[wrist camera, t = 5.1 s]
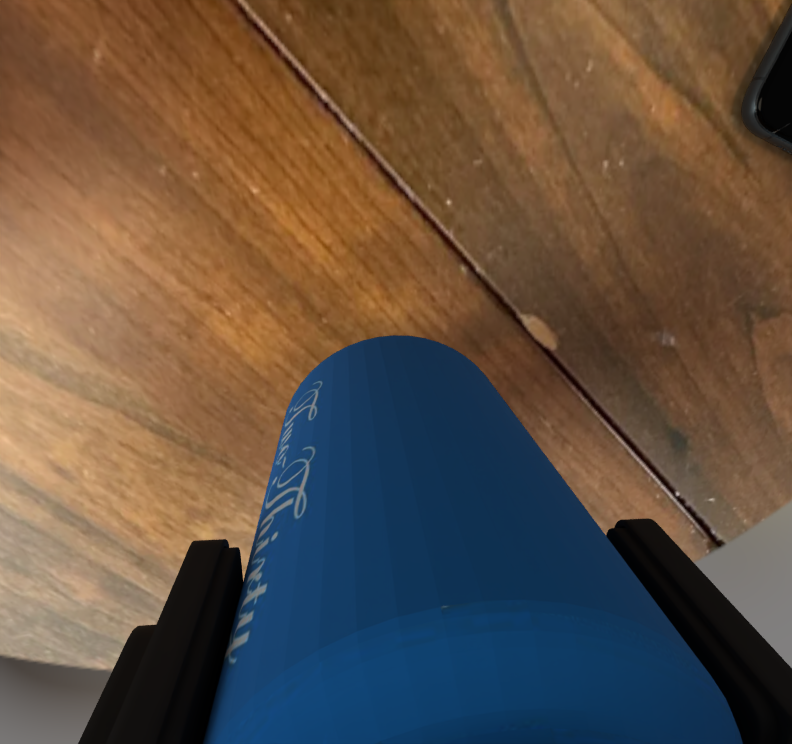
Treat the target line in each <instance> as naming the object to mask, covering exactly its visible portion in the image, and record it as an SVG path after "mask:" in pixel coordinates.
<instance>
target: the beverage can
mask: <svg viewBox="0 0 792 744" xmlns="http://www.w3.org/2000/svg"><path fill="white" fill-rule="evenodd" d="M203 744H743V742H742V739H741V735H740V732H739V729H738V727H737V724H736V722H735V719H734V717H733V714H732V712H731V709H730V707H729V705H728V703H727V700H726V698H725V697H724V695H723V694H722V692H721V691H720V689H719V687H718V686H717V684H716V683H715V681H714V680H713V678H712V677H711V675H710V674H709V673H708V671H707V670H706V669H705V667H704V666H703V665H702V663H701V662H700V661H699V659H698V658H697V657H696V655H695V654H694V653H693V651H692V650H691V649H690V647H689V646H688V645H687V643H686V642H685V641H684V639H683V638H682V637H681V635H680V634H679V633H678V631H677V630H676V629H675V627H674V626H673V625H672V623H671V622H670V621H669V619H668V618H667V617H666V615H665V614H664V613H663V611H662V610H661V609H660V607H659V606H658V605H657V603H656V602H655V601H654V599H653V598H652V597H651V595H650V594H649V593H648V591H647V590H646V589H645V587H644V586H643V585H642V583H641V582H640V581H639V579H638V578H637V577H636V575H635V574H634V573H633V571H632V570H631V569H630V567H629V566H628V565H627V563H626V562H625V561H624V559H623V558H622V557H621V555H620V554H619V553H618V551H617V550H616V549H615V547H614V546H613V545H612V543H611V542H610V541H609V539H608V538H607V537H606V535H605V534H604V533H603V531H602V530H601V529H600V527H599V526H598V525H597V523H596V522H595V521H594V519H593V518H592V517H591V515H590V514H589V513H588V511H587V510H586V509H585V507H584V506H583V505H582V503H581V502H580V501H579V499H578V498H577V497H576V495H575V494H574V493H573V491H572V490H571V489H570V487H569V486H568V485H567V483H566V482H565V481H564V479H563V478H562V477H561V475H560V474H559V473H558V471H557V470H556V469H555V467H554V466H553V465H552V463H551V462H550V461H549V460H548V458H547V457H546V456H545V454H544V453H543V452H542V450H541V449H540V448H539V446H538V445H537V444H536V442H535V441H534V440H533V438H532V437H531V436H530V434H529V433H528V432H527V430H526V429H525V428H524V426H523V425H522V424H521V422H520V421H519V420H518V418H517V417H516V416H515V414H514V413H513V412H512V410H511V409H510V408H509V406H508V405H507V404H506V402H505V401H504V400H503V398H502V397H501V396H500V394H499V393H498V392H497V390H496V389H495V388H494V386H493V385H492V384H491V382H490V381H489V380H488V378H487V377H486V376H485V374H484V373H483V372H482V371H481V370H480V369H479V368H478V367H477V366H476V365H475V364H474V363H473V362H472V361H470V360H469V359H468V358H467V357H466V356H464V355H462V354H461V353H459V352H458V351H456V350H454V349H453V348H450V347H448V346H446V345H444V344H441V343H439V342H436V341H432V340H429V339H426V338H420V337H413V336H396V335H393V336H383V337H376V338H372V339H367V340H363V341H360V342H358V343H355V344H352V345H349V346H347V347H345V348H343V349H341V350H340V351H338V352H336V353H334V354H332V355H331V356H330V357H328V358H327V359H325V360H324V361H323V362H321V363H320V364H319V365H318V366H317V367H316V368H315V369H314V370H312V371H311V372H310V373H309V375H308V376H307V377H306V378H305V379H304V381H303V382H302V383H301V384H300V386H299V388H298V389H297V391H296V392H295V394H294V396H293V398H292V400H291V402H290V404H289V407H288V409H287V412H286V416H285V419H284V423H283V427H282V431H281V435H280V439H279V443H278V447H277V451H276V455H275V459H274V463H273V467H272V471H271V474H270V478H269V482H268V486H267V490H266V494H265V498H264V502H263V506H262V510H261V514H260V518H259V522H258V526H257V530H256V534H255V538H254V542H253V546H252V550H251V554H250V558H249V562H248V566H247V570H246V574H245V578H244V582H243V586H242V590H241V593H240V597H239V601H238V605H237V609H236V613H235V617H234V621H233V625H232V629H231V633H230V637H229V641H228V645H227V649H226V653H225V657H224V661H223V665H222V669H221V673H220V677H219V681H218V685H217V689H216V693H215V697H214V701H213V705H212V709H211V712H210V716H209V720H208V724H207V728H206V732H205V736H204V740H203Z"/></svg>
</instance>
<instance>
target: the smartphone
mask: <svg viewBox="0 0 792 744" xmlns="http://www.w3.org/2000/svg"><path fill="white" fill-rule="evenodd" d="M741 114H742V120H743V122H744V124H745V126H746V127H747V129H748V130H749V131H750V132H751V133H753V134H754V135H756V136H758V137H759V138H761V139H763V140H765V141H767V142H769V143H771V144H773V145H775V146H776V147H778V148H780V149H782V150H784V151H786V152H788V153H790V154H792V4H791V6H790V8H789V10H788V12H787V14H786V16H785V18H784V20H783V21H782V23H781V25H780V27H779V29H778V31H777V33H776V35H775V37H774V39H773V41H772V43H771V44H770V46H769V48H768V50H767V52H766V54H765V56H764V58H763V60H762V62H761V64H760V66H759V67H758V69H757V71H756V73H755V75H754V77H753V79H752V81H751V83H750V85H749V87H748V89H747V91H746V94H745V96H744V99H743V103H742V109H741Z"/></svg>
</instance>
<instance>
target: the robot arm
mask: <svg viewBox="0 0 792 744" xmlns="http://www.w3.org/2000/svg"><path fill="white" fill-rule="evenodd" d="M606 537H607V538H608V539H609V541H610V542H611V543H612V545H613V546H614V547H615V549H616V550H617V551H618V553H619V554H620V555H621V557H622V558H623V559H624V561H625V562H626V563H627V565H628V566H629V567H630V569H631V570H632V571H633V573H634V574H635V575H636V577H637V578H638V579H639V581H640V582H641V583H642V585H643V586H644V587H645V589H646V590H647V591H648V593H649V594H650V595H651V597H652V598H653V599H654V601H655V602H656V603H657V605H658V606H659V607H660V609H661V610H662V611H663V613H664V614H665V615H666V617H667V618H668V619H669V621H670V622H671V623H672V625H673V626H674V627H675V629H676V630H677V631H678V633H679V634H680V635H681V637H682V638H683V639H684V641H685V642H686V643H687V645H688V646H689V647H690V649H691V650H692V651H693V653H694V654H695V655H696V657H697V658H698V659H699V661H700V662H701V663H702V665H703V666H704V667H705V669H706V670H707V671H708V673H709V674H710V675H711V677H712V678H713V680H714V681H715V683H716V684H717V686H718V687H719V689H720V691H721V692H722V694H723V695H724V697H725V698H726V700H727V703H728V705H729V707H730V709H731V712H732V714H733V717H734V719H735V722H736V724H737V727H738V729H739V732H740V735H741V739H742V742H743V744H792V668H791V667H790V666H789V665H788V664H787V663H786V662H785V661H784V660H783V659H782V657H781V656H780V655H779V654H778V653H777V652H776V651H775V650H774V649H773V648H772V647H771V646H770V645H769V644H768V643H767V641H766V640H765V639H764V638H763V637H762V636H761V635H760V634H759V633H758V632H757V631H756V629H755V628H754V627H753V626H752V625H751V624H750V623H749V622H748V621H747V620H746V619H745V618H744V617H743V616H742V614H741V613H740V612H739V611H738V610H737V609H736V608H735V607H734V606H733V605H732V604H731V603H730V602H729V600H727V598H726V597H725V596H724V595H723V594H722V593H721V592H720V591H719V590H718V589H717V588H716V586H715V585H714V584H713V583H712V582H711V581H710V580H709V579H708V578H707V577H706V576H705V575H704V574H703V573H702V571H701V570H700V569H699V568H698V567H697V566H696V565H695V564H694V563H693V562H692V561H691V560H690V558H689V557H688V556H687V555H686V554H685V553H684V552H683V551H682V550H681V549H680V548H679V547H678V546H677V544H676V543H675V542H674V541H673V540H672V539H671V538H670V537H669V536H668V535H667V534H666V533H665V532H664V531H663V529H662V528H661V527H660V526H659V525H658V524H657V523H656V522H655V521H653V520H652V519H630V520H620V521H618V522H617V523H616V525H615V528H611V529H609V531H608V532H607V536H606ZM242 586H243V575H242V565H241V556H240V550H239V548H238V547H235V548H229V544H228V541H227V540H226V539H223V540H202V541H193V542H192V543H191V545H190V547H189V549H188V552H187V554H186V557H185V559H184V561H183V564H182V566H181V568H180V571H179V573H178V575H177V578H176V580H175V582H174V585H173V587H172V589H171V592H170V594H169V597H168V599H167V601H166V604H165V606H164V608H163V611H162V613H161V615H160V618H159V620H158V622H157V625H145V626H137V627H136V628H135V629H134V630H133V631H132V633H131V634H130V636H129V638H128V640H127V642H126V644H125V646H124V648H123V650H122V652H121V654H120V657H119V659H118V661H117V663H116V665H115V667H114V669H113V671H112V673H111V676H110V678H109V680H108V682H107V684H106V686H105V688H104V690H103V692H102V694H101V697H100V699H99V701H98V703H97V705H96V707H95V709H94V712H93V713H92V716H91V718H90V720H89V722H88V724H87V726H86V728H85V730H84V732H83V734H82V737H81V739H80V741H79V743H78V744H203V740H204V736H205V732H206V728H207V724H208V720H209V716H210V712H211V709H212V705H213V701H214V697H215V693H216V689H217V685H218V681H219V677H220V673H221V669H222V665H223V661H224V657H225V653H226V649H227V645H228V641H229V637H230V633H231V629H232V625H233V621H234V617H235V613H236V609H237V605H238V601H239V597H240V593H241V590H242Z"/></svg>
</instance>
